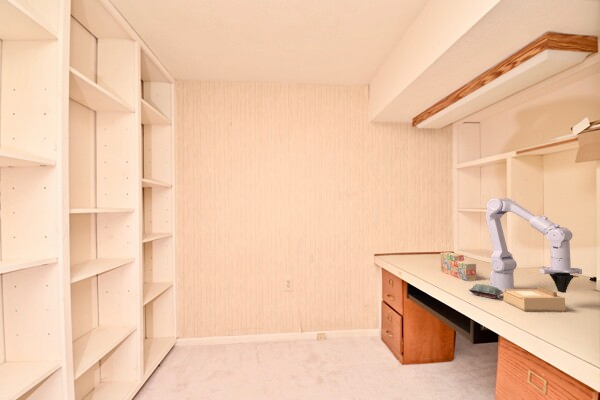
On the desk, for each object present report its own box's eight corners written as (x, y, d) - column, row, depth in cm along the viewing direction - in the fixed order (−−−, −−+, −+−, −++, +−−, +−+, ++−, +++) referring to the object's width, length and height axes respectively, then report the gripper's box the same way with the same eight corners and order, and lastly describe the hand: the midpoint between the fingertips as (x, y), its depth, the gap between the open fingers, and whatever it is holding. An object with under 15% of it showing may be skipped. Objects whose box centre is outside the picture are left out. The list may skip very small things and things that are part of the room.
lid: (505, 291, 111) (505, 286, 111) (542, 291, 111) (542, 286, 111) (521, 298, 103) (521, 293, 103) (561, 298, 102) (561, 292, 102)
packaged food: (474, 290, 127) (474, 280, 128) (505, 297, 118) (504, 285, 118) (468, 295, 122) (467, 284, 122) (499, 302, 113) (499, 290, 113)
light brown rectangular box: (503, 301, 112) (503, 289, 113) (540, 301, 112) (539, 289, 112) (524, 311, 101) (524, 298, 102) (565, 311, 101) (564, 297, 101)
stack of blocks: (476, 280, 144) (476, 258, 145) (466, 281, 143) (465, 258, 144) (450, 271, 165) (449, 251, 166) (440, 272, 165) (440, 252, 165)
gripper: (550, 259, 103) (552, 295, 103) (589, 259, 102) (591, 295, 102) (535, 256, 110) (536, 289, 110) (571, 256, 109) (573, 289, 109)
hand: (561, 291), depth 106 cm, fingers closed
